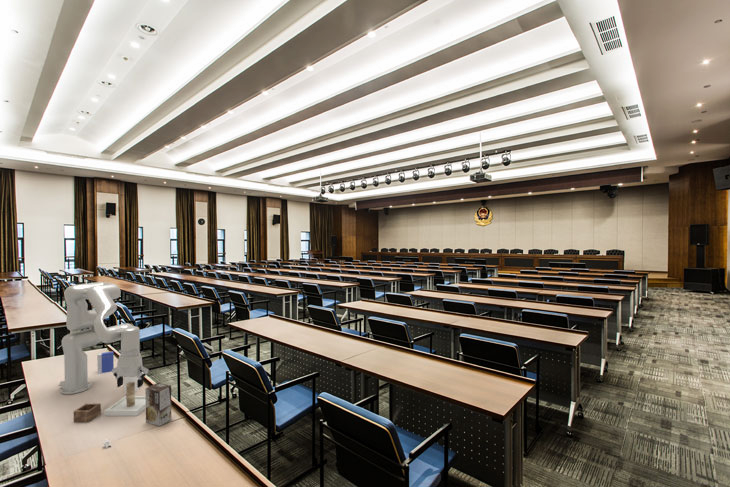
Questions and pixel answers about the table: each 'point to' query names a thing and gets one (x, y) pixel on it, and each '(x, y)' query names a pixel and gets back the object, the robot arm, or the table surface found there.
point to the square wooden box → (87, 412)
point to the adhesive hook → (106, 443)
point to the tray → (123, 410)
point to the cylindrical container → (130, 379)
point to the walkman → (105, 362)
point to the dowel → (130, 394)
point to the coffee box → (158, 404)
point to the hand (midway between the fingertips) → (130, 386)
